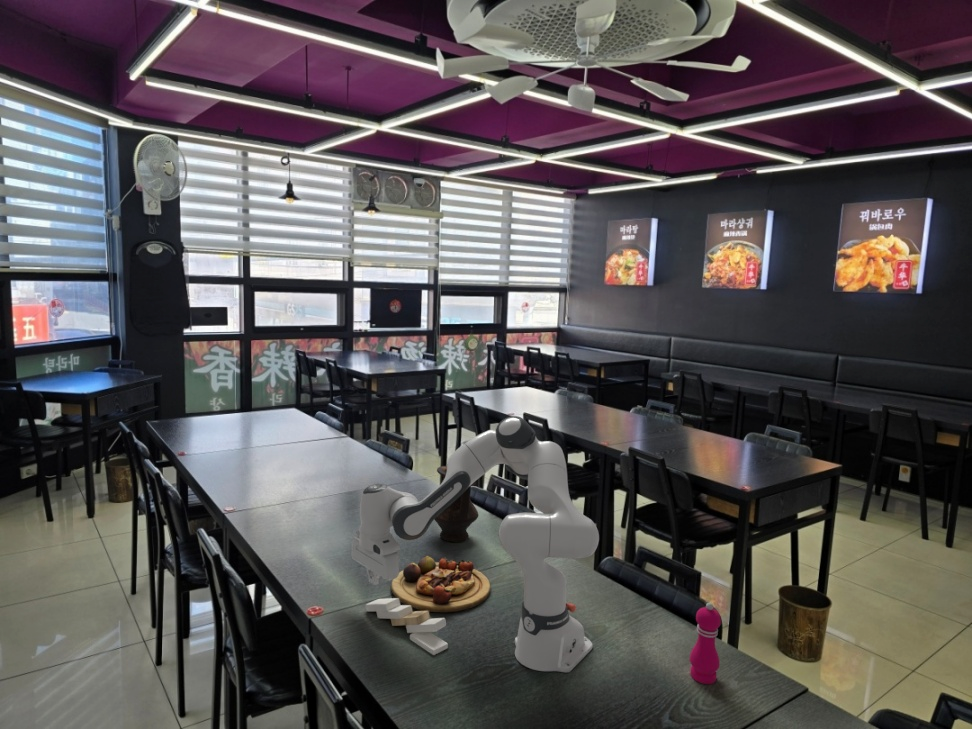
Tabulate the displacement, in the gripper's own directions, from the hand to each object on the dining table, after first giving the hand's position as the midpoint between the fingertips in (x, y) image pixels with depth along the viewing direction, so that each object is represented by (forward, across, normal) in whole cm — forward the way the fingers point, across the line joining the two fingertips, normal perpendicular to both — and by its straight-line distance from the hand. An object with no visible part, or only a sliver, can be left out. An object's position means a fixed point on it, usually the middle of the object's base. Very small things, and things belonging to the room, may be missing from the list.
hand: (373, 583), depth 188 cm
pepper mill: (+8, +82, +45) cm, 94 cm away
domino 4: (+6, +17, +1) cm, 19 cm away
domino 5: (+7, +21, 0) cm, 22 cm away
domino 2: (+7, +6, 0) cm, 9 cm away
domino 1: (+7, 0, 0) cm, 7 cm away
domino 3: (+6, +12, 0) cm, 13 cm away
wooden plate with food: (+8, +4, +23) cm, 25 cm away
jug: (+8, -24, +53) cm, 58 cm away
